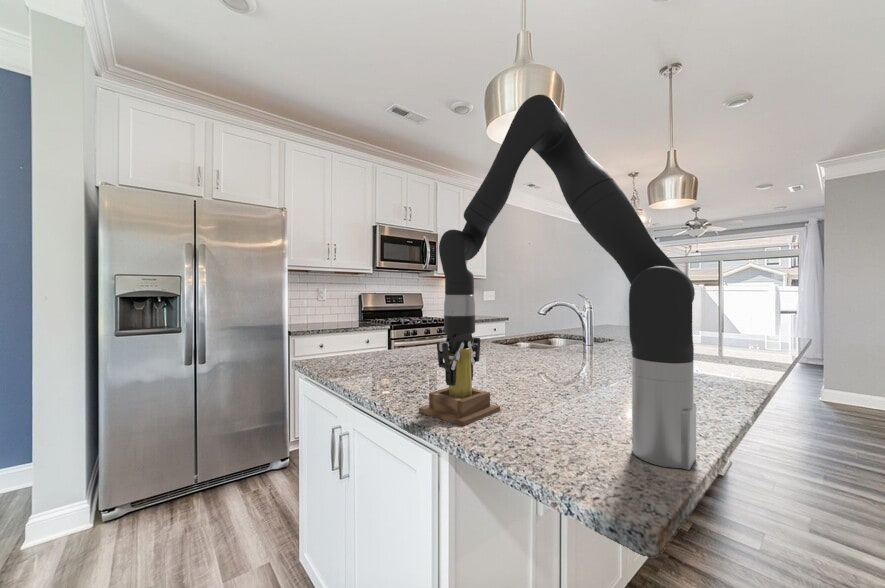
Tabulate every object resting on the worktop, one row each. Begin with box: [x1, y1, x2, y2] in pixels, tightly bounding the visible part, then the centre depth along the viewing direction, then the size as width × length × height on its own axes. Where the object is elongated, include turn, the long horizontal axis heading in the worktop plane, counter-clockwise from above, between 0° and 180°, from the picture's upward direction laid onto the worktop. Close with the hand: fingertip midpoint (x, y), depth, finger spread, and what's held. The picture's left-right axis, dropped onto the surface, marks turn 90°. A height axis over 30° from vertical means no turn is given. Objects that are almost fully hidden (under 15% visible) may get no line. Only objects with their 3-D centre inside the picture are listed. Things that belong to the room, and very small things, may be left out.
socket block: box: [418, 387, 501, 427], centre depth 89 cm, size 14×14×4 cm
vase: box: [448, 348, 473, 399], centre depth 89 cm, size 6×6×14 cm
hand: (459, 382), depth 89 cm, fingers open, 6 cm apart
